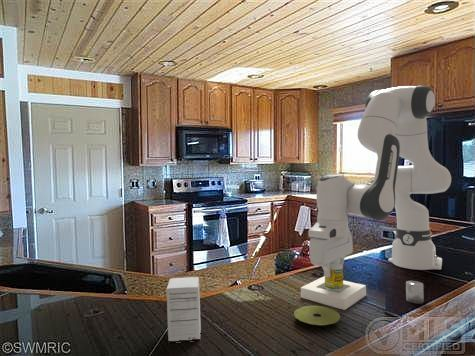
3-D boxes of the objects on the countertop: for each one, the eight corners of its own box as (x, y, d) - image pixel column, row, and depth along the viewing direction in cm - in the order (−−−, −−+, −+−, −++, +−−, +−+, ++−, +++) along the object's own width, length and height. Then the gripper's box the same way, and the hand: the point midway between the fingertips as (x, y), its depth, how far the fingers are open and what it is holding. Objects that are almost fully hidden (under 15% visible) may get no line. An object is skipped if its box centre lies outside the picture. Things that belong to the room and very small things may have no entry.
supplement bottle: (332, 284, 102) (332, 253, 102) (347, 289, 98) (346, 257, 98) (321, 287, 99) (320, 256, 99) (335, 293, 95) (334, 260, 95)
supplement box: (171, 328, 81) (169, 277, 81) (201, 326, 82) (199, 276, 82) (167, 343, 74) (165, 288, 74) (200, 341, 74) (198, 286, 74)
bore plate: (324, 285, 109) (324, 276, 109) (366, 295, 99) (366, 285, 99) (300, 297, 99) (300, 287, 99) (344, 310, 89) (344, 299, 89)
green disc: (286, 317, 86) (286, 309, 86) (322, 309, 90) (322, 302, 90) (310, 336, 75) (310, 328, 75) (350, 327, 79) (350, 319, 79)
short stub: (409, 296, 97) (408, 279, 97) (425, 300, 94) (425, 282, 94) (404, 300, 94) (403, 283, 94) (421, 304, 91) (420, 287, 91)
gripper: (338, 222, 108) (340, 264, 108) (305, 231, 93) (306, 280, 93) (357, 224, 103) (358, 267, 104) (324, 234, 89) (326, 284, 89)
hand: (333, 273), depth 98 cm, fingers closed on supplement bottle, 5 cm apart
